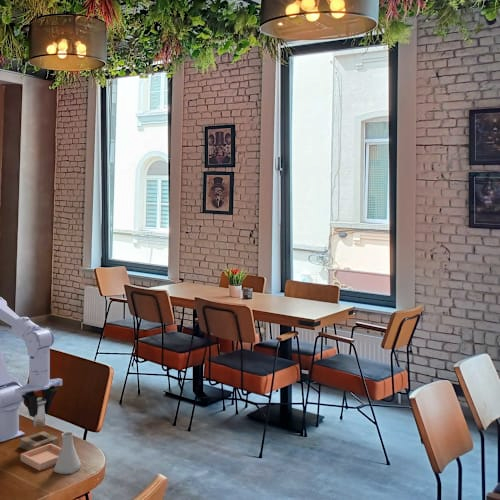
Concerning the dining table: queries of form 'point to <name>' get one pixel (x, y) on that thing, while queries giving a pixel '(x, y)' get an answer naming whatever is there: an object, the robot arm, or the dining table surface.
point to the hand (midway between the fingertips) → (39, 413)
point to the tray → (42, 456)
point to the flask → (67, 456)
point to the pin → (40, 412)
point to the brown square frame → (38, 440)
